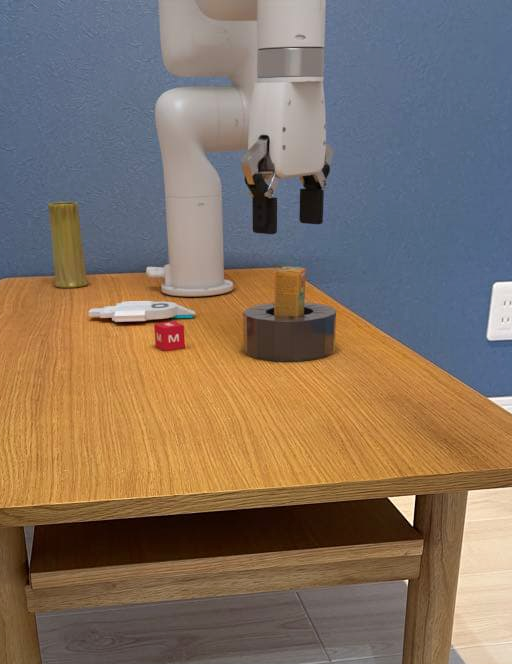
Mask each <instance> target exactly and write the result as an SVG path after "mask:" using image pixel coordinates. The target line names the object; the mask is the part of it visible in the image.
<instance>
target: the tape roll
mask: <svg viewBox="0 0 512 664" xmlns="http://www.w3.org/2000/svg"><path fill="white" fill-rule="evenodd" d="M274 305H275V302H268V303H263V304H256V305H254V306H251V307H248V308H247V307H246V309H245V310H244V311H243V312H242V315H243V316H242V323H243V324H242V325H243V327H242V328H243V330H242V331H243V333H242V334H243V350H244V353H245V354H246V355H247V356H249V357H251V358H253V359H257V360H261V361H266V362H267V361H268V362H277V363H278V362H279V363H280V362H281V363H293V362H294V363H295V362H309V361H314V360H320V359H323V358H326V357H329V356H331V355H333V354H334V353H335V348H336V333H337V331H336V328H337V309H335V308H334V307H332V306H329V305H325V304H322V303H313V302H305V301H304V315H302V316H275V315H274Z"/></svg>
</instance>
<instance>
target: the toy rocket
mask: <svg viewBox="0 0 512 664" xmlns="http://www.w3.org/2000/svg"><path fill="white" fill-rule="evenodd" d="M195 314H196V311H194V310H192V309H189V308H187V307H184V306H182V305H179V304H178V303H176V302H172V301H153V300H135V301H133V300H131V301H121V302H117V303H116V304H115V305H107V306H104V307H98V308H97V307H93V308H90V310H88V317H99V318H100V319H108V318H111V321H113V322H114V323H122V322H123V323H124V322H146V321H153V320H164V319H169V318H171V319H193V318H194V315H195Z"/></svg>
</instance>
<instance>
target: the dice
mask: <svg viewBox="0 0 512 664" xmlns="http://www.w3.org/2000/svg"><path fill="white" fill-rule="evenodd" d="M153 325H154V327H153V328H154V341H155V343H154V344H155V347H156V348H158V349H160V350H161V351H164V352H167V351H172V350H181V349H185V348H186V343H185V342H186V341H185V325H184V324H181V323H180V322H178V321H176V320H174V321H166V322H158V323H153Z"/></svg>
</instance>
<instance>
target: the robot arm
mask: <svg viewBox="0 0 512 664" xmlns="http://www.w3.org/2000/svg"><path fill="white" fill-rule="evenodd" d="M157 1H158V4H157V5H158V23H159V41H160V52H161V58H162V62H163V65H164V68H165V70H167V72H168V73H170V74H172V75H174V76H177V77H187V78H204V77H205V78H206V77H207V78H208V77H209V78H210V77H211V78H213V77H226V78H228V79H229V83H230V85H224V86H223V85H222V86H220V85H219V86H217V85H216V86H210V85H205V86H204V85H202V86H200V85H199V86H198V85H197V86H179V87H174V88H171V89H168V90H167V91H165V92H163V93H162V94H160V95H159V97H158V98H157V101H156V103H155V106H154V122H155V129H156V134H157V138H158V143H159V149H160V154H161V155H160V156H161V163H162V170H163V185H164V186H163V187H164V200H165V201H164V202H165V218H166V219H165V220H166V237H167V254H168V257H167V258H168V263H167V264H164V265H163V267H162V266H160V267H159V266H147V267H146V270H145V271H146V273H145V274H146V278H147V279H150V280H159V279H160V280H161V279H162V281H164V283H162V284H161V286H160V288H161V290H160V291H161V293H163V294H165V295H168V296H173V297H184V298H185V297H186V298H187V297H188V298H189V297H190V298H191V297H192V298H193V297H195V298H196V297H197V298H198V297H210V296H211V297H212V296H218V295H224V294H227V293H230V292H231V291H233V290H234V282H233V281H231V280H229V279H225V256H224V223H223V192H222V191H223V190H222V181H221V178H220V175H219V174H218V171H217V170H216V169H215V167H214V166H213V165H212V163H211V162H210V161H209V159H208V158H207V156H206V154H208V153H216V152H217V153H219V152H236V151H238V152H239V151H245V153H244V154H243V155H242V156H241V157H240V160H239V161H240V166H241V169H242V173H243V175H244V183H245V185H246V187H247V188H248V195H249V197H250V198H252V203H251V204H252V232H253V233H255V234H262V235H263V234H264V235H276V234H277V232H278V197H274V195H275V193H276V190H277V189H278V186H279V184H280V181H281V179H292V178H293V179H294V178H299V180H300V183H301V184H302V187H303V188H299V215H298V216H299V218H298V219H299V220H298V221H299V223H301V224H308V225H321V224H323V222H324V199H325V197H324V196H325V189H326V188H327V187H328V186H327V185H328V182H327V179H328V176H329V174H330V172H331V164H332V160H333V158H334V157H333V156H334V149H333V147H332V146H331V145H330V144H329V143H328V142H327V121H326V120H327V119H326V117H327V116H326V102H325V92H324V80H325V77H324V75H325V39H326V9H327V7H326V6H327V0H157ZM266 181H267V182H266Z"/></svg>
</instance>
